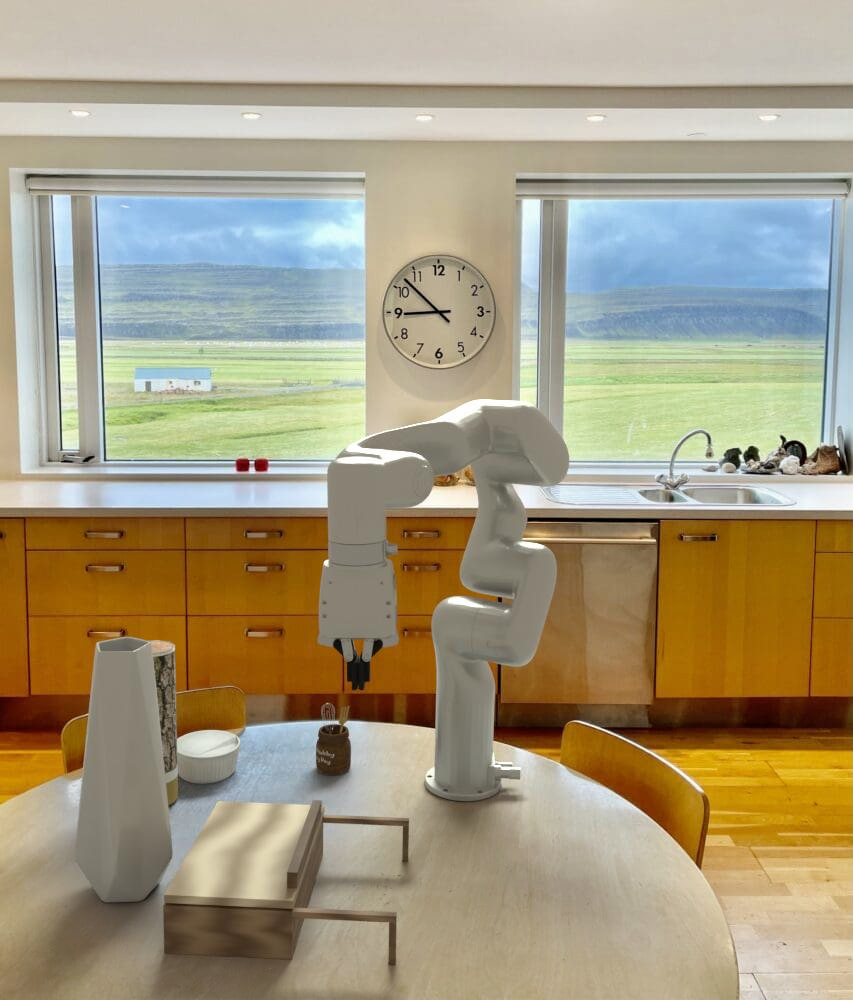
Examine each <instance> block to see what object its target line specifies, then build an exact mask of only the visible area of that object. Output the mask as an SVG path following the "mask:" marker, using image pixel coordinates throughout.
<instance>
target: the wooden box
mask: <svg viewBox="0 0 853 1000" xmlns="http://www.w3.org/2000/svg"><path fill="white" fill-rule="evenodd" d="M324 824H343V825H346V824H347V825H364V826H365V825H366V826H367V825H370V826H390V827H391V826H392V827H393V826H394V827H402V845H401V846H402V850H401V851H402V853H401V857H402V858H401V859H402V860H401V861H402V862H409V849H410V848H409V841H410V840H409V839H410V838H409V837H410V836H409V834H410V830H409V829H410V818H409V817H389V816H387V817H386V816H366V815H365V816H364V815H340V814H324V815H323V818H322V821H321V824H320V827H319V830H318V833H317V837H316V840H315V843H314V846H313V849H312V852H311V855H310V858H309V861H308V864H307V867H306V871H305V874H304V877H303V880H302V883H301V886H300V889H299V892H298V895H297V898H296V902H295V905H294V908H293V909H286V908H265V907H243V906H221V905H200V904H178V903H164V902H163V905H162V908H163V909H162V913H163V918H162V919H163V952H164V954H169V955H170V954H171V955H172V954H173V955H174V954H175V955H192V956H193V955H195V956H212V957H213V956H214V957H231V958H232V957H233V958H234V957H236V958H257V959H273V960H274V959H277V960H293V957H294V954H295V951H296V948H297V944H298V941H299V938H300V934H301V930H302V927H303V925H304V921H305V919H307V920H323V921H324V920H326V921H327V920H329V921H348V922H349V921H350V922H370V923H371V922H373V923H388V959H387V961H388V965H396V961H397V917H398V915H397V914H398V913H397V912H396V911H376V910H375V911H374V910H356V909H354V910H353V909H334V908H333V909H332V908H331V909H330V908H313V907H312V908H310V907H309V903H310V901H311V896H312V893H313V891H314V887H315V884H316V879H317V877H318V874H319V870H320V867H321V863H322V859H323V856H324Z"/></svg>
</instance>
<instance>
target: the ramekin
mask: <svg viewBox="0 0 853 1000" xmlns="http://www.w3.org/2000/svg"><path fill="white" fill-rule="evenodd" d="M241 746H242V745H241V739H240V737H238V735H236V734H235V733H232V732H230V731H226V730H219V729H203V730H197V731H192V732H189V733H185V734H184V735H182V736H179V737H177V765H178V776H179V777H180V778H181V779H182V780H183V781H185V782H188V783H191V784H199V785H200V784H201V785H203V784H214V783H218V782H221V781H225V780H226V779H228V778H229V777H230V776H232V775H233V774H234V773H235V771H236V768H237V765H238V760H239V753H240V749H241Z"/></svg>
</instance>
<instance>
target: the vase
mask: <svg viewBox="0 0 853 1000" xmlns="http://www.w3.org/2000/svg"><path fill="white" fill-rule="evenodd" d="M149 641H150V640H147V639H146V640H145V639H142V638H139V637H138V638H137V637H134V636H133V637H132V636H123V637H117V638H111V639H106V640H101V641H98V642H96V643H95V649H94V657H93V665H92V675H91V676H92V677H91V685H90V694H89V705H88V715H87V724H86V725H87V726H86V732H85V733H86V735H85V742H84V743H85V745H84V753H83V755H84V756H83V762H82V763H83V766H82V775H81V785H80V794H79V796H80V797H79V804H78V812H77V813H78V815H77V826H76V834H75V836H76V837H75V845H74V858H75V863H76V865H78V868H79V869H80V870H81V871H82V874H83V875H84V877H85V878H86V880H87V881H88V883H89V884H90V885H91V887H92V888H93V890H94V892H95V893H96V895H97V896H98V898H99V899H100V900H101V901H102V902H104V903H109V904H110V903H135V902H141V901H144V900H145V899H146V897H148V896H149V895H150V894H151V893H152V891H153V890H154V889H155V888H156V887H157V886H158V885H159V884H160V882H162V879H163V878H164V876H165V874H166V872H167V870H168V868H169V865H170V864H171V861H172V859H173V854H174V853H173V839H172V831H171V820H170V812H169V806H168V799H167V789H166V779H165V769H164V759H163V749H162V739H161V729H160V719H159V709H158V700H157V690H156V680H155V671H154V661H153V652H152V645H151V642H149Z"/></svg>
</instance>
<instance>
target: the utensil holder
mask: <svg viewBox="0 0 853 1000" xmlns="http://www.w3.org/2000/svg"><path fill="white" fill-rule="evenodd" d="M325 706H327V707H329V708H331V711H332V712H336V711H335V710H336V709H335V708H332V707H334V706H333V704H332V703H329V702H326V703H325V704H323V705H322V706H321V711H320V712H321V715H323V716H325V715H326V714H325V712H324V709H323V708H324V707H325ZM331 706H332V707H331ZM349 711H350V706H349V705H347V706H344V707H341V710H340V714H339V719H338V723H336V722H335V721H332V724H331V723H327V721H326V719H325V718H321V720H322V722H323V726H320V728H319V729H318V734H317V736H318V739H317V741H316V745H315V767H316V770H317V771H318V772H319V774H323V775H326V776H338V775H343V774H345V773H348V771H349V770H350V768H351V764H352V763H351V762H352V745H351V740H350V738H349V737H350V731H349V728H348V727H347V726H345V724H346V723H347V721H348V716H349ZM323 712H324V713H323ZM328 713H329V715H330V711H328ZM326 716H327V720H329V718H328V715H326ZM331 716H332V719H334V714H331Z"/></svg>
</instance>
